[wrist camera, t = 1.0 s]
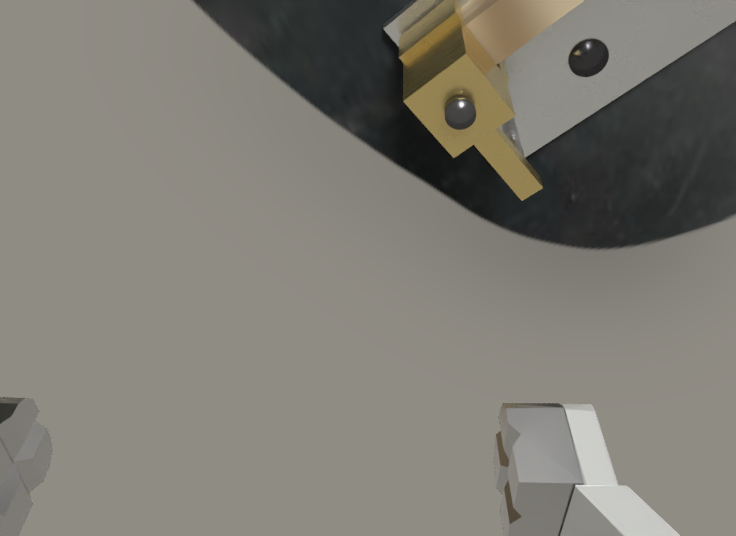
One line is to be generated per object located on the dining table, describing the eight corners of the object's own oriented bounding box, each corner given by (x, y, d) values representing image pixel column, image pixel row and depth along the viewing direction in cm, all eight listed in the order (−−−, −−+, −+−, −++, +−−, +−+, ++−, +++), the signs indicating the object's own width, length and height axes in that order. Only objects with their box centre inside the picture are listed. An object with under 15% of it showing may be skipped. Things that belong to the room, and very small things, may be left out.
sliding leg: (452, -7, 40) (462, 54, 34) (541, 110, 45) (566, 184, 38) (398, 37, 42) (398, 102, 35) (490, 145, 46) (504, 221, 40)
